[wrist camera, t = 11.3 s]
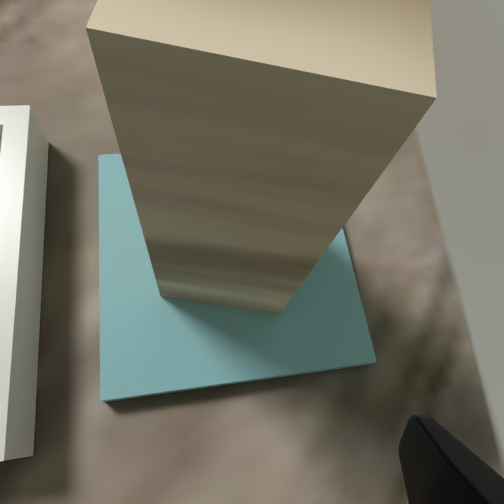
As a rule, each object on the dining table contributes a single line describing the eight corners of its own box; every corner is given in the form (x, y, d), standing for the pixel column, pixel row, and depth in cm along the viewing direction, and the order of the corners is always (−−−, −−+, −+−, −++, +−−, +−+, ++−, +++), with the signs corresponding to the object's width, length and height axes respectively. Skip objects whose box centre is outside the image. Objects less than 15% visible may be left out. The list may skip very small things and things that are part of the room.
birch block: (278, 315, 17) (436, 97, 6) (160, 296, 17) (85, 27, 6) (289, 212, 19) (423, -97, 8) (184, 194, 19) (165, -156, 8)
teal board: (369, 364, 18) (376, 361, 17) (104, 402, 16) (100, 400, 15) (317, 154, 22) (321, 144, 21) (101, 164, 20) (98, 155, 19)
